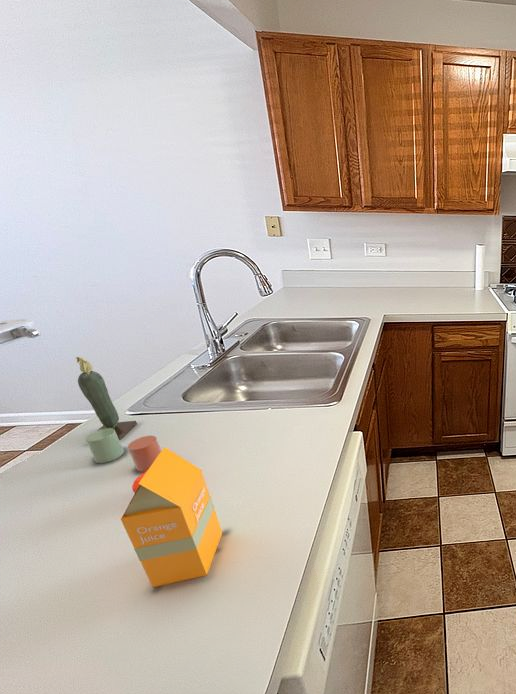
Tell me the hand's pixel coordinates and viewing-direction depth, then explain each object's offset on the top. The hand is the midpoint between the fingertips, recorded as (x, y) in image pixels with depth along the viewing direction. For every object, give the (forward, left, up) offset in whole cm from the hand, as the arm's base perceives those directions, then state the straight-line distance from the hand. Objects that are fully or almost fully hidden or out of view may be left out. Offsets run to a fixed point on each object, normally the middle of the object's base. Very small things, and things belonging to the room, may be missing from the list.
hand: (14, 340), depth 88 cm
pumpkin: (+34, -25, -26) cm, 50 cm away
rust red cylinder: (+27, -15, -26) cm, 41 cm away
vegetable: (+11, 0, -25) cm, 27 cm away
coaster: (+11, 0, -26) cm, 28 cm away
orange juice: (+47, -43, -26) cm, 69 cm away
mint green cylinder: (+16, -10, -26) cm, 32 cm away
